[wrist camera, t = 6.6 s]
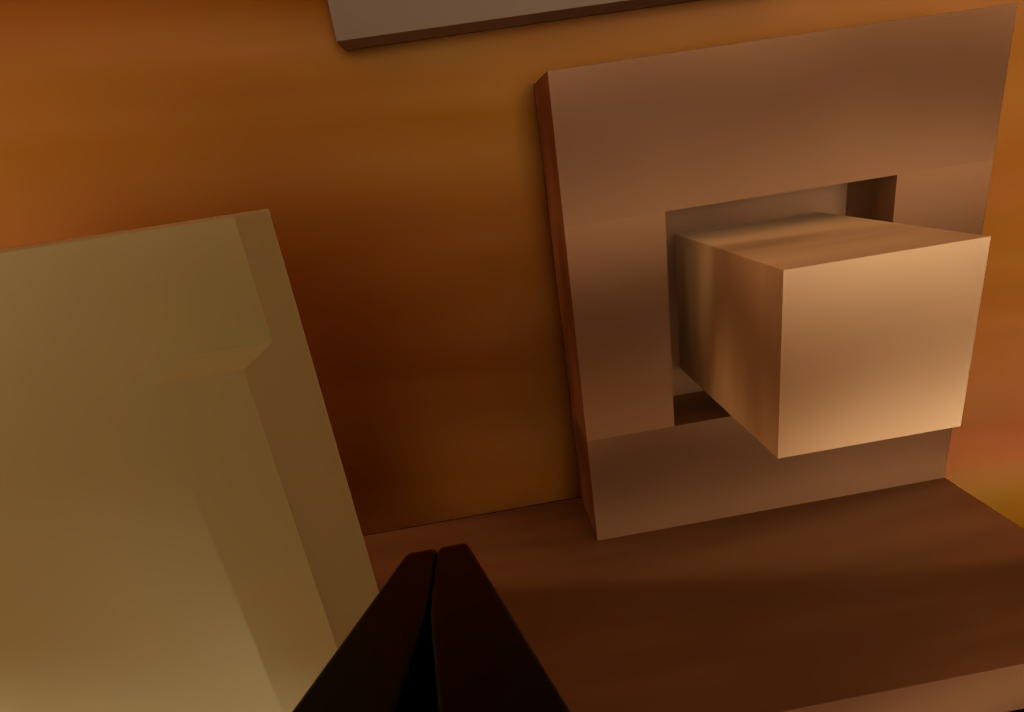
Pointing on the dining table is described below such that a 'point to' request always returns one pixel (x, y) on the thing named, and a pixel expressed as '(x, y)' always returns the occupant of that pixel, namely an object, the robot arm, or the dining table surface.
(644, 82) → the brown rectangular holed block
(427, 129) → the dining table surface
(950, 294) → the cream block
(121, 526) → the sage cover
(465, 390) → the dining table surface
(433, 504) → the dining table surface
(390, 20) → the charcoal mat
